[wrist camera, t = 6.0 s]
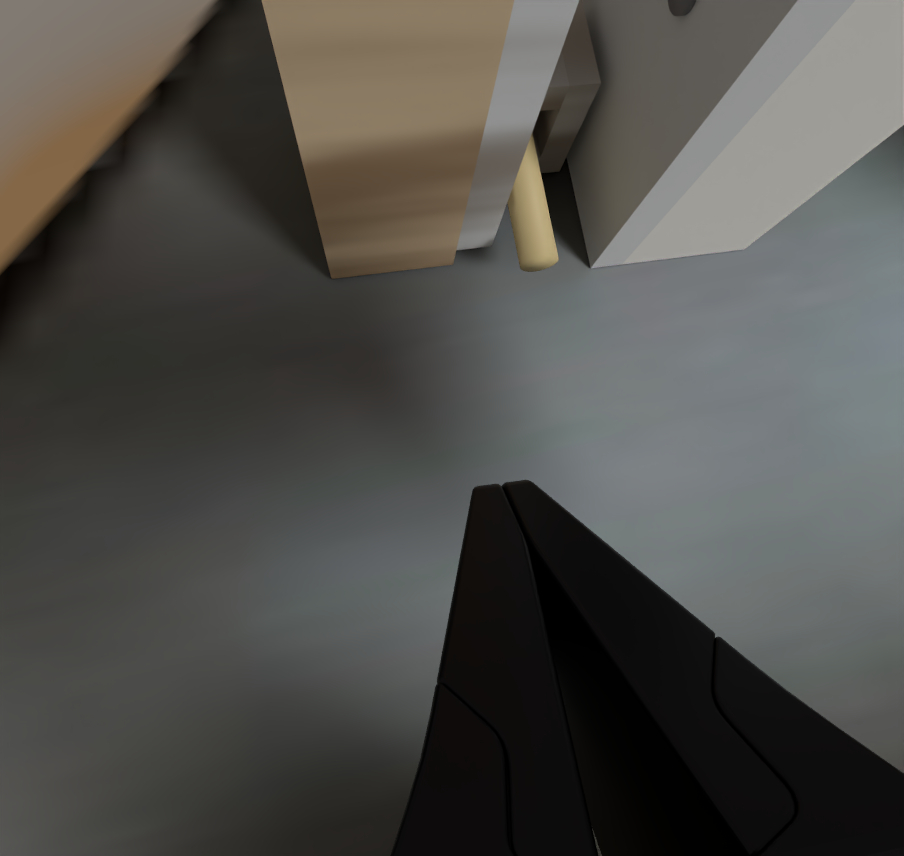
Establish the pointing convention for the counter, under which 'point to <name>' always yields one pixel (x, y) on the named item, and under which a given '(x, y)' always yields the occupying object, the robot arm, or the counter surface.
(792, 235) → the counter surface
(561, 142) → the light wood tall block
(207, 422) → the counter surface
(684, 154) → the frame leaf
